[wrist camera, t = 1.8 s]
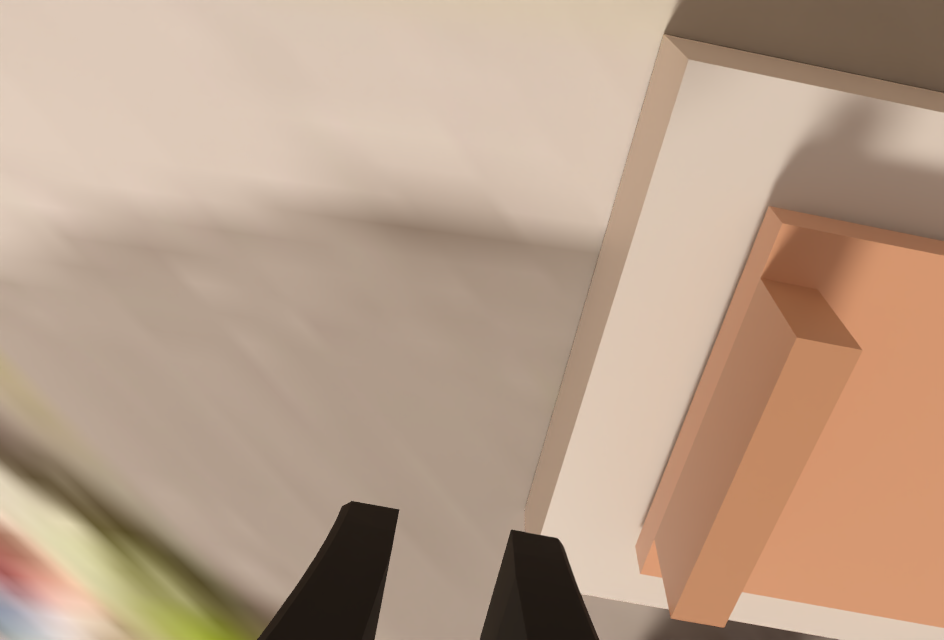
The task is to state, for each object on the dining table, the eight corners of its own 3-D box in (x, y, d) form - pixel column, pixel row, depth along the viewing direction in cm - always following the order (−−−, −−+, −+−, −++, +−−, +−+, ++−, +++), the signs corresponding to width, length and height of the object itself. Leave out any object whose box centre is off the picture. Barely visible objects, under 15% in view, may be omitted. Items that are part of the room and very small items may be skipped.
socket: (1261, 159, 16) (1384, 205, 13) (965, 589, 21) (1016, 670, 19) (663, 34, 15) (689, 59, 13) (524, 509, 21) (525, 583, 19)
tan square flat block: (1209, 294, 14) (1359, 382, 11) (984, 609, 18) (1059, 725, 15) (769, 205, 14) (823, 276, 11) (634, 546, 17) (654, 654, 15)
